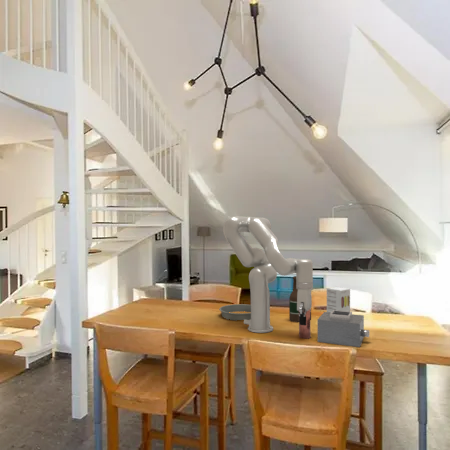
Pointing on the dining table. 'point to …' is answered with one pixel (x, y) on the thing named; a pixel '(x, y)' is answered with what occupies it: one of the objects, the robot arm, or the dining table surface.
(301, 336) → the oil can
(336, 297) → the supplement box
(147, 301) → the dining table surface
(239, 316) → the cake pan
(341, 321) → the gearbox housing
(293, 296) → the beer bottle
